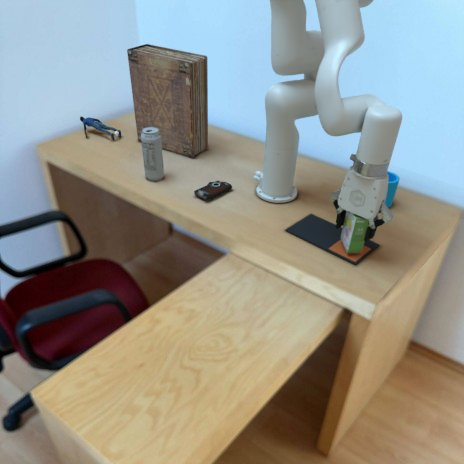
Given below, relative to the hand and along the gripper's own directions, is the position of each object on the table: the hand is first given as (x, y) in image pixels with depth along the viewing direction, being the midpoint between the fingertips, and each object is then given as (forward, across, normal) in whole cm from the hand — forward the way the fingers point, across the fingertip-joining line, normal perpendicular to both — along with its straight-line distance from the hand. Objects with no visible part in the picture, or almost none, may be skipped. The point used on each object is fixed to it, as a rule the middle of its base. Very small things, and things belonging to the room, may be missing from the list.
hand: (353, 232), depth 110 cm
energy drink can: (+6, -66, -10) cm, 67 cm away
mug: (+6, -8, +30) cm, 32 cm away
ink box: (+4, 0, 0) cm, 4 cm away
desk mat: (+5, -6, +2) cm, 9 cm away
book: (+6, -81, +12) cm, 82 cm away
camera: (+6, -46, -4) cm, 47 cm away
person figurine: (+6, -107, -2) cm, 108 cm away
